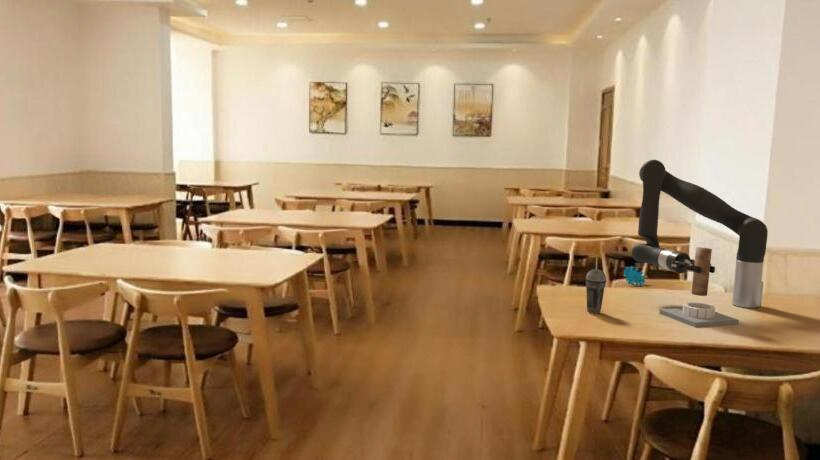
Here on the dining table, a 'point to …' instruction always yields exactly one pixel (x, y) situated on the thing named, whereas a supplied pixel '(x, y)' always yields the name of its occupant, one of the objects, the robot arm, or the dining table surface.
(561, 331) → the dining table surface
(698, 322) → the socket plate
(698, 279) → the cylinder
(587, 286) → the beverage cup
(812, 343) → the dining table surface
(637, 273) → the blue spiky lump
